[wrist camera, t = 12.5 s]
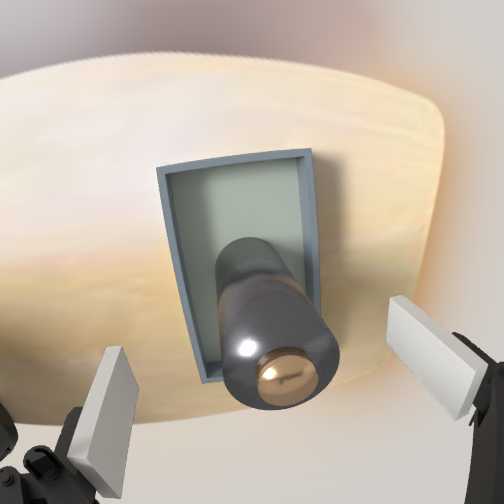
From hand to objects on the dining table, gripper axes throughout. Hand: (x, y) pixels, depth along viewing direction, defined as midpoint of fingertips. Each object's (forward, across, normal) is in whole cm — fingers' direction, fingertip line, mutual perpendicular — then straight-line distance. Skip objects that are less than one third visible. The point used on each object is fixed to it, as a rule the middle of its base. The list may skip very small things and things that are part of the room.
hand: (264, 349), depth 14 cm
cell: (+10, -1, 0) cm, 10 cm away
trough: (+11, -1, 0) cm, 11 cm away
